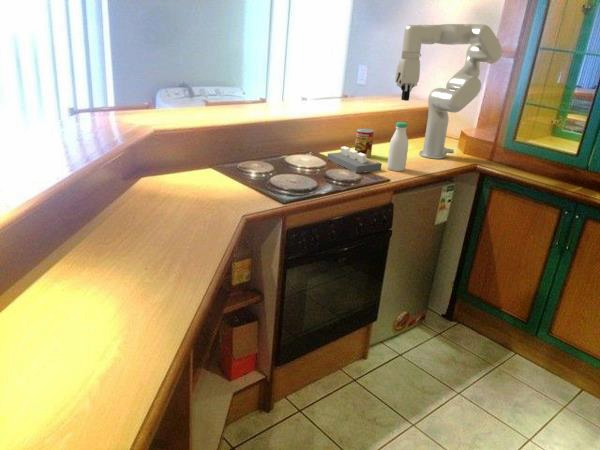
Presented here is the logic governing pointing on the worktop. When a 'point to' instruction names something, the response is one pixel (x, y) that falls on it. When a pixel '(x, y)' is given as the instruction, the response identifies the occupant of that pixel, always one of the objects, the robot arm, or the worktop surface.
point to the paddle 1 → (345, 150)
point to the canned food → (364, 141)
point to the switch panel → (355, 163)
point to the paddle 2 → (361, 157)
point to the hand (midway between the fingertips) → (405, 100)
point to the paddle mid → (353, 154)
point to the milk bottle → (398, 148)
